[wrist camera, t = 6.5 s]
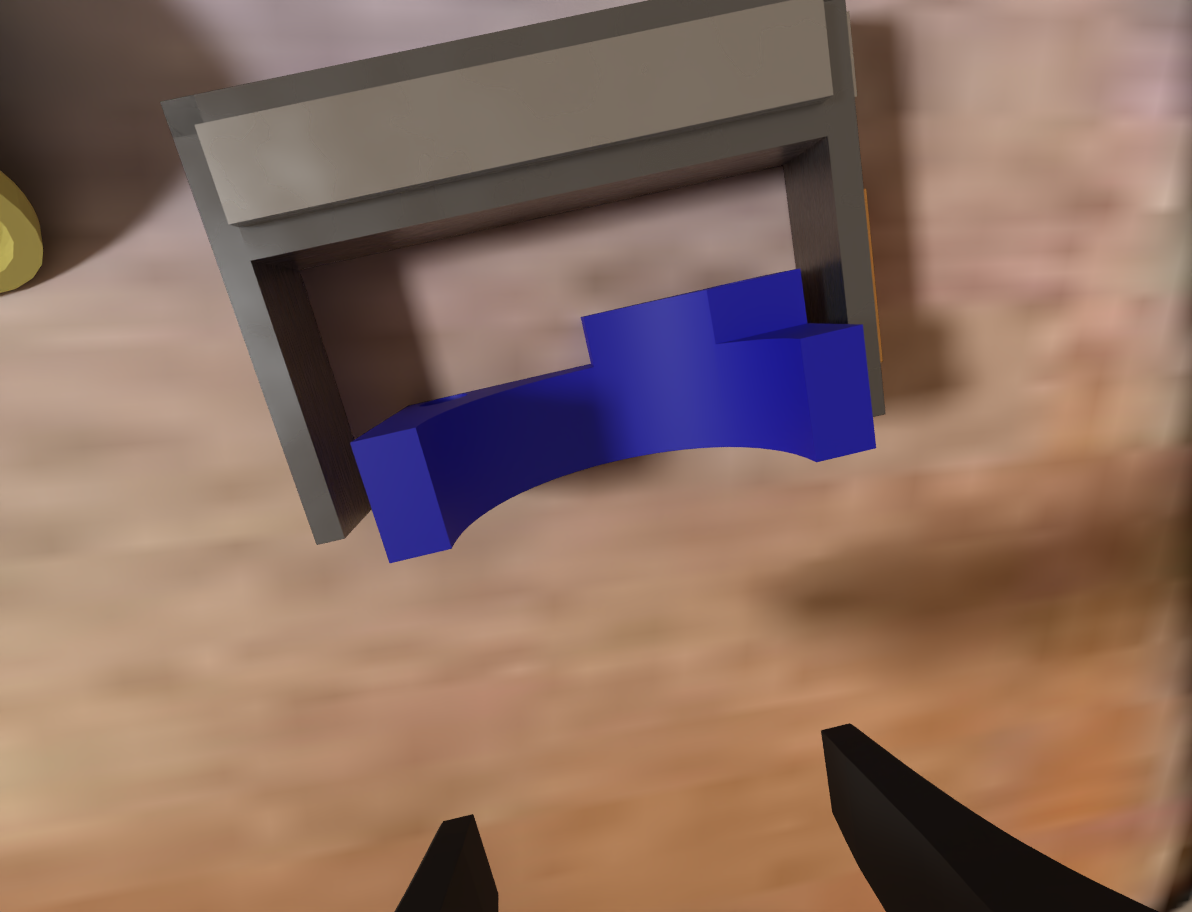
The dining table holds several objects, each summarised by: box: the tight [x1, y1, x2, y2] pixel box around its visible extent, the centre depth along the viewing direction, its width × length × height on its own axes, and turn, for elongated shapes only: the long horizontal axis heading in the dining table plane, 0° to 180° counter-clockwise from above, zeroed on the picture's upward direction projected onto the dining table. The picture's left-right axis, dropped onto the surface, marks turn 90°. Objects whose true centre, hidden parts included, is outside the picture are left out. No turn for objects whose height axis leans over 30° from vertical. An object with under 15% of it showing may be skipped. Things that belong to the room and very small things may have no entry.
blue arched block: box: [350, 269, 876, 563], centre depth 17 cm, size 12×4×6 cm, turn 102°
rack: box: [160, 0, 885, 545], centre depth 17 cm, size 11×17×4 cm
